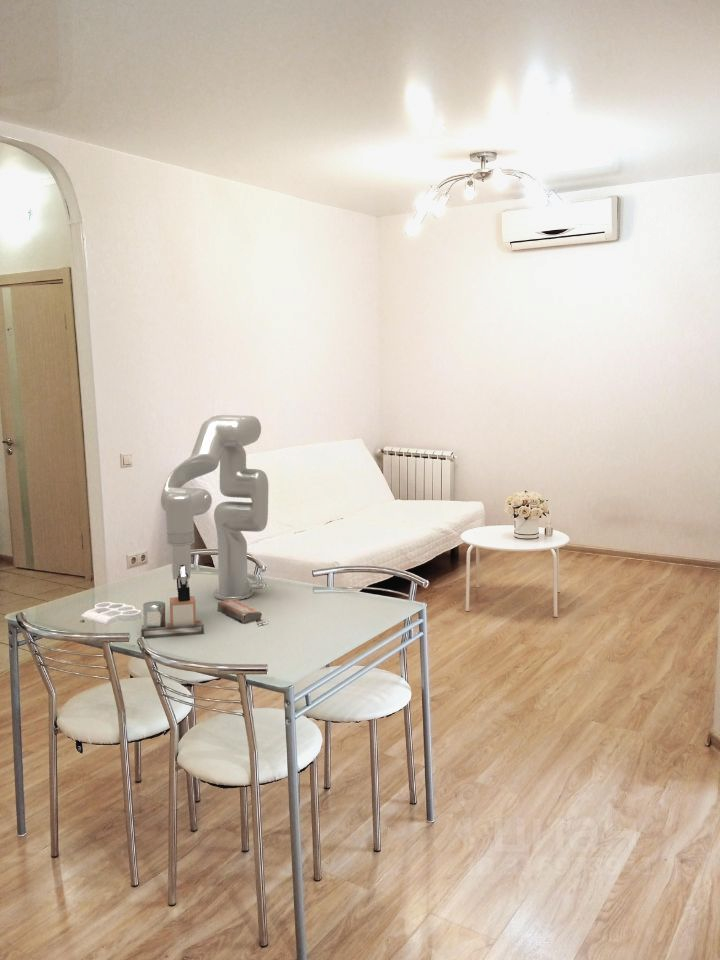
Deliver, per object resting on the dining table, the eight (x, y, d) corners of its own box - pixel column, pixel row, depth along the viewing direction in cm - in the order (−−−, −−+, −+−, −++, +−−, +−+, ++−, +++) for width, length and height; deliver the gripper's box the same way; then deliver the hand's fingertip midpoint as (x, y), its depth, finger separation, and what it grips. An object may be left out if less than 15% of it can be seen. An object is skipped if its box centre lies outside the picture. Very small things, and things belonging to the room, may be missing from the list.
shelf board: (201, 624, 239) (201, 612, 239) (204, 637, 228) (203, 625, 227) (142, 628, 235) (141, 616, 235) (141, 642, 224) (141, 630, 223)
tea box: (195, 626, 234) (194, 596, 233) (196, 631, 229) (195, 601, 228) (170, 628, 232) (169, 597, 231) (170, 633, 228) (169, 603, 226)
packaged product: (211, 601, 248) (239, 595, 254) (211, 616, 248) (240, 610, 254) (239, 616, 233) (269, 609, 239) (239, 632, 234) (269, 625, 240)
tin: (165, 627, 233) (165, 600, 232) (164, 634, 227) (164, 607, 226) (144, 628, 232) (144, 601, 231) (142, 635, 226) (142, 607, 225)
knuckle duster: (74, 620, 244) (114, 608, 256) (113, 632, 234) (152, 619, 245) (73, 610, 243) (113, 598, 255) (112, 621, 233) (152, 608, 245)
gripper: (166, 530, 234) (169, 587, 237) (167, 546, 218) (170, 606, 221) (192, 529, 236) (195, 585, 239) (195, 544, 220) (198, 604, 223)
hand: (183, 595), depth 230 cm, fingers open, 9 cm apart
